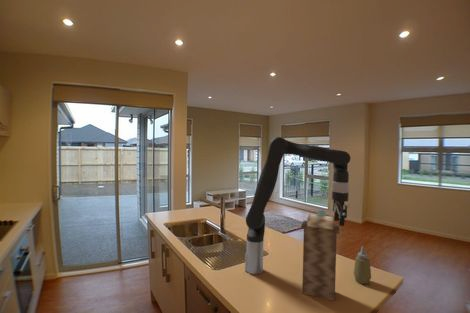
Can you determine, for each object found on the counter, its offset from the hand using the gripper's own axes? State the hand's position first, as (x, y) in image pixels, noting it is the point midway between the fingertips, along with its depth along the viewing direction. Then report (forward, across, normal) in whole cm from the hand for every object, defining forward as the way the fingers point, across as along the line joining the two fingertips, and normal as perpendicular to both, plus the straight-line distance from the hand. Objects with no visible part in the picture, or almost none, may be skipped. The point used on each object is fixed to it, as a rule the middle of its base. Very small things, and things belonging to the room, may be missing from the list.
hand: (339, 223), depth 120 cm
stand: (+31, +10, -11) cm, 34 cm away
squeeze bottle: (+31, -4, +14) cm, 34 cm away
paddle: (-1, +5, -10) cm, 11 cm away
